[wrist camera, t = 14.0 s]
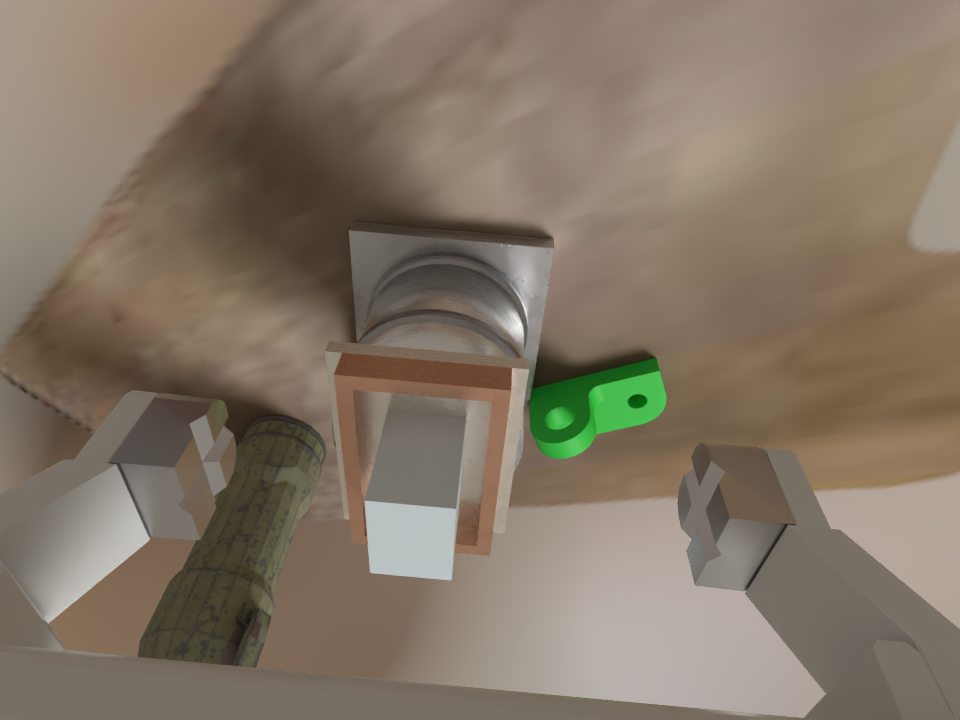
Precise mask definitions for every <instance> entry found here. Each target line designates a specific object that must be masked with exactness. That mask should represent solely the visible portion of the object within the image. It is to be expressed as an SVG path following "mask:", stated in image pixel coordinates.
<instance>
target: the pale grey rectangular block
mask: <svg viewBox="0 0 960 720" xmlns="http://www.w3.org/2000/svg"><path fill="white" fill-rule="evenodd" d="M465 427H466V419H462V418H451V417H440V416H429V415H418V414H407V413H396V412H387V415H386V418H385V422H384V426H383V430H382V434H381V438H380V442H379V446H378V450H377V454H376V457H375V461H374V465H373V469H372V473H371V477H370V481H369V485H368V489H367V493H366V496H365V500H364V502H365V514H366V526H367V539H368V551H369V564H370V573H377V574H389V575H399V576H410V577H422V578H433V579H443V580H451V578H452V569H453V560H454V551H455V541H456V532H457V522H458V513H459V504H460V494H461V482H462V468H463V455H464V441H465Z"/></svg>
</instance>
